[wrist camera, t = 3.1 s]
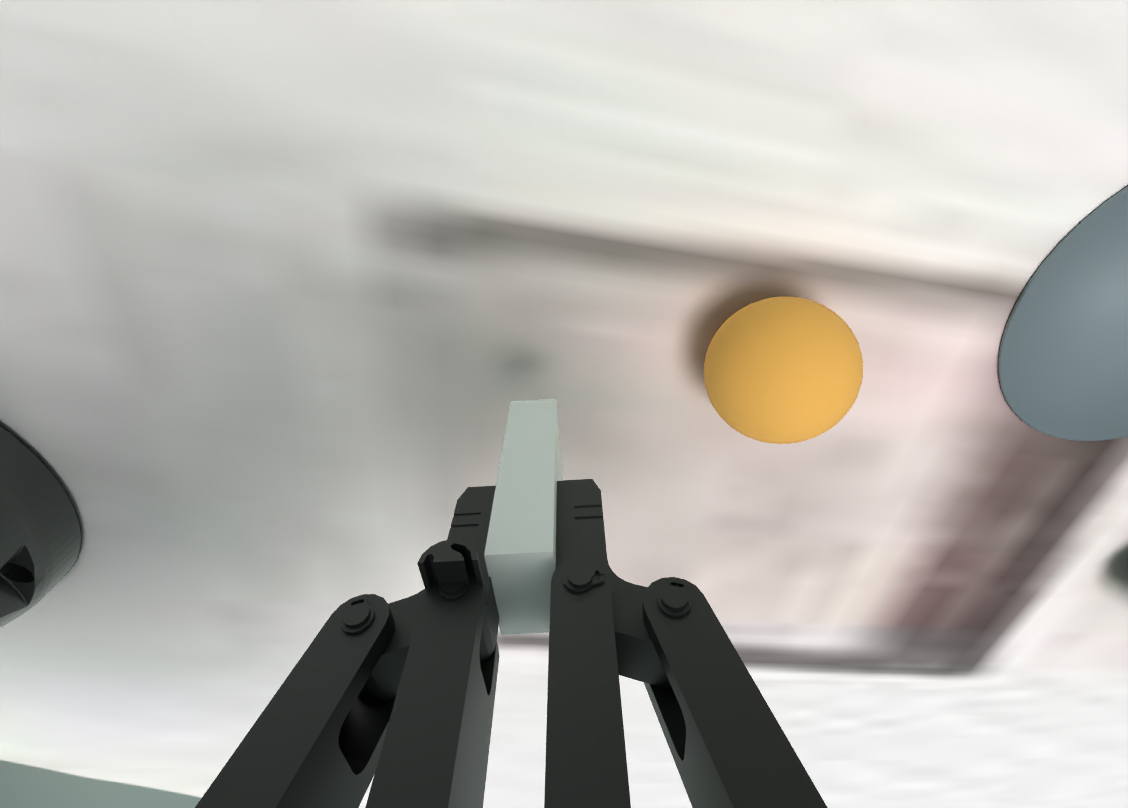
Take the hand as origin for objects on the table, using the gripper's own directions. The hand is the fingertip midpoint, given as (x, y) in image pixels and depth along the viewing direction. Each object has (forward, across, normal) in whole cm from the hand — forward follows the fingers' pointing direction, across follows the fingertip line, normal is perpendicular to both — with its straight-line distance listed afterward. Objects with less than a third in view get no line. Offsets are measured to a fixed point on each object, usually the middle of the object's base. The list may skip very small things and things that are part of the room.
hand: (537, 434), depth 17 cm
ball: (+3, +9, 0) cm, 10 cm away
